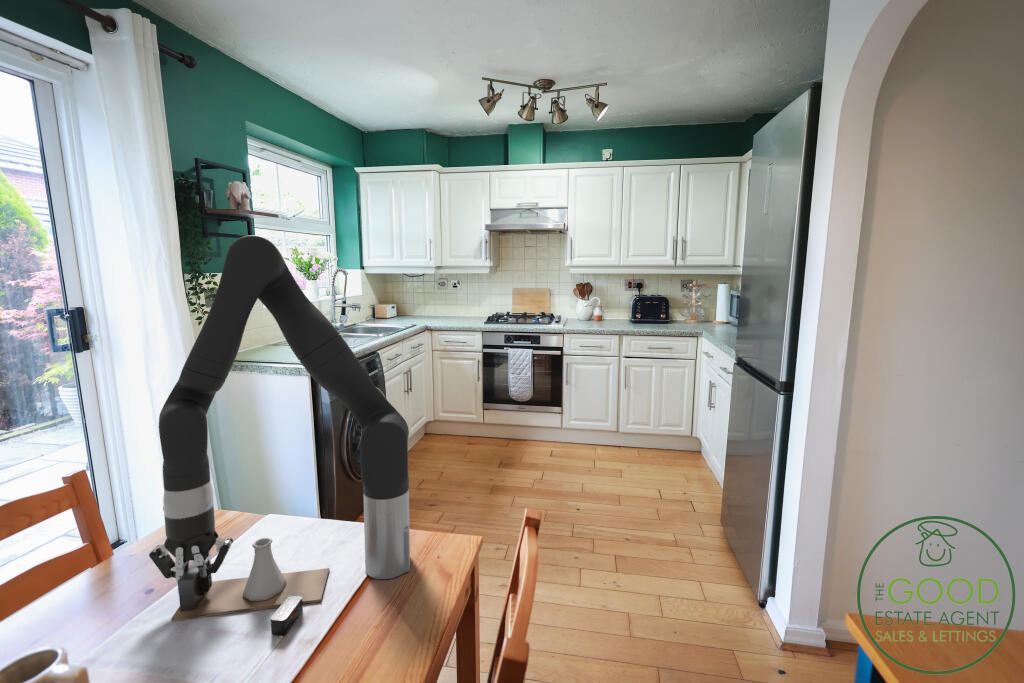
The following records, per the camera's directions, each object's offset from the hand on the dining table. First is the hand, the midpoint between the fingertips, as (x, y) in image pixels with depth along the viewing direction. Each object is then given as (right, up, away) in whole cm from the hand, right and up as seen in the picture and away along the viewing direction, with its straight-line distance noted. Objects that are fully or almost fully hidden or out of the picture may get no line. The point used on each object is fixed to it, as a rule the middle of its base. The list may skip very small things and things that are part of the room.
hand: (195, 593), depth 88 cm
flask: (+12, -1, +3) cm, 12 cm away
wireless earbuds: (+19, -3, -4) cm, 20 cm away
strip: (+10, -1, +3) cm, 11 cm away
